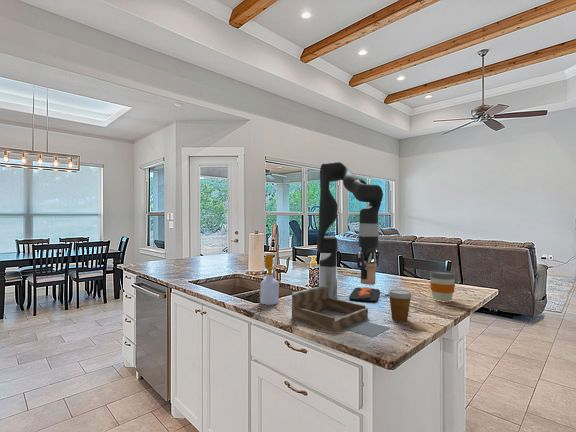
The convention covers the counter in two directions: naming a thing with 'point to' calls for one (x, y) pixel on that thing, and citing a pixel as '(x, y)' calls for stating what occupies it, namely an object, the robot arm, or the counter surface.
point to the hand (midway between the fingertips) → (368, 277)
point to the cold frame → (317, 300)
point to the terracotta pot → (370, 273)
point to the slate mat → (367, 328)
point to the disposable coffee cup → (399, 304)
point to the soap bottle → (269, 284)
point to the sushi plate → (365, 294)
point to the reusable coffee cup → (442, 284)
